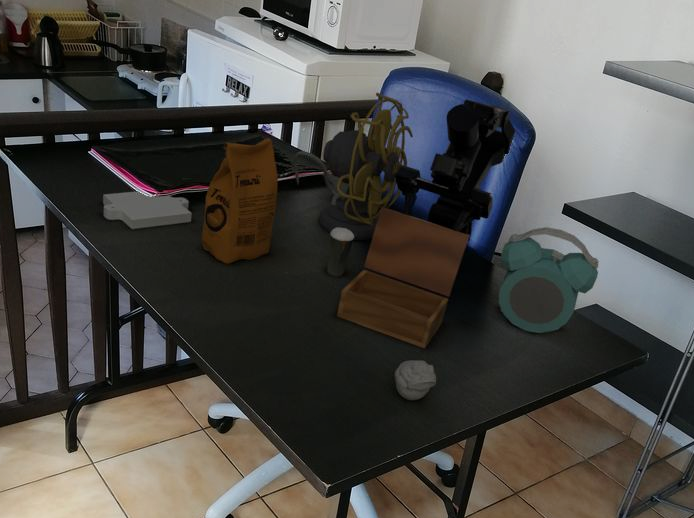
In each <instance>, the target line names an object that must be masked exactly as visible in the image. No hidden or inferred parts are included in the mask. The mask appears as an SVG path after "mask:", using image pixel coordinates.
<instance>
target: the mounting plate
mask: <svg viewBox="0 0 694 518" xmlns="http://www.w3.org/2000/svg"><path fill="white" fill-rule="evenodd" d="M102 196H103V197H102V204H103V217H104V218H105V219H106V220H110V221H115V220H120V221H122V222H123V223H124V224H126V225H127V226H128V227H129V228H130V229H131V230H135V229H136V230H137V229H144V228H153V227H160V226H169V225H176V224H177V225H178V224H183V223H191V222H192V215H193V213H192V212H191V211H190V210H189V203H190V202H189V200H188V199H187V198H185V197H173V196H171V195H169V196H165V197H148V196H145V195H144V194H142V193H140V192H139V190H138V191H127V192H115V193H107V194H106V193H105V194H103V195H102Z"/></svg>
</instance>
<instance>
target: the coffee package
mask: <svg viewBox="0 0 694 518" xmlns="http://www.w3.org/2000/svg"><path fill="white" fill-rule="evenodd" d="M222 148H223V150H225V157H224V158H223V160H222V162H221V164H220V167H219V169H218V171H217V172H216V173H215V174H214V176H213V177H212V179H211V182H210V183H209V185H208V188H207V192H206V195H205V204H204V205H205V206H204V214H203V215H204V216H203V217H204V218H203V224H202V225H203V226H202V232H201V239H200V241H201V243H202V248H203V249H204V251H207V252H209V253H210V254H211V255H212V256H214V258H215V259H216V260H218V261H219V262H222V263H224V264H232V263H234V262H237V261H240V260H246V261H251V260H256V259H258V258H259V257H261V256H264V255H267V254H269V252H270V247H271V241H272V239H271V238H272V233H273V227H274V222H275V216H276V210H277V209H276V207H277V198H278V182H279V181H278V178H279V177H278V176H279V175H278V170H277V163H276V159H275V151H274V146H273V141H272V139H271V138H265V139H263V140H261V141H259V142H257V143H256V144H254V145H252V144H244V143H243V144H241V143H236V142H232V143H231V142H227V141H225V143H224V144H223V146H222Z"/></svg>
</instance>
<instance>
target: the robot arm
mask: <svg viewBox="0 0 694 518" xmlns="http://www.w3.org/2000/svg"><path fill="white" fill-rule="evenodd" d="M510 115H511V111H510V110H508V109H507V108H505V107H501V106H498V105H494V104H490V105H489V104H487V103H486V104H485V103H482V102H478V101H475V100H472V99H468V98H467V99H465V100H464V101H463V103H460V104H457V105H454V106H453V107H451V109H449V110H448V112H447V114H446V127H447V128H446V129H447V130H446V131H447V140H448V141H449V143H448V145H447V147H446V150H445V152H444V153H443V154H441V153H437V152H436V153H435V154H434V157H433V160H432V163H431V166H430V168H429V170H430V171H431V172H430V178H431V179H432V180H428V179H426V178H423V177H422V176H421V171H420V170H419V169H417V168H415V167H414V168H413V167H410V166H408V165H407V166H404V164H402V165H403V166H401V167H400V168H398V170H397V172H396V174H395V179H396V183H397V184H396V187H397V190H398V189H399V190H400V191H401V195H402V196H404V203H403V214H406V215H409V216H411V213H412V211H413V208H414V206H415V204H416V201H417V198H418V196H417V194H418V193H419V192H420V190H422V191H426V192H428V193H432V194H436V195H438V196H439V197H438V198H437V200H436V201H435V202H433V203H432V204H431V206H430V209H429V212H428V215H427V222H431V223H434V224H437V225H440V226H443V227H446V228H449V229H452V230H455V231H458V232H461V233H464V234H468V235H470V236H469V239H468V242H470V240H471V238H472V237H471V236H472V232H473V222H474V221H480V220H481V218H483V219H485V220H486V219H489V217H490V215H491V212H492V210H493V201H494V198H493V195H492V193H491V192H489V191H486V190H482V189H480V188H481V186H482V184H483V182H484V180H485V179H486V177H487V175H488V173H489V172H490V170H491V168H492V167H494V166H497V165H500V164H502V163H503V162H504V160H505V159H504V156H505V154H508V153H509V150H510V146H511V143H512V140H513V137H514V138H515V136H514V134H515V135H516V130H515V127H514V125H513V123H512V121H511V120H510V117H511V116H510ZM498 128H500V129H498ZM503 159H504V160H503Z"/></svg>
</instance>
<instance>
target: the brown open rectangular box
mask: <svg viewBox="0 0 694 518" xmlns="http://www.w3.org/2000/svg"><path fill="white" fill-rule="evenodd" d="M448 302H449V298H448V297H444V296H442V295H440V294H439V295H438V294H437V293H433V292H431V291H429V290H425V289H422V288H420V287H416V286H414V285H411V284H408V283H406V282H405V283H404V282H403V281H400V280H399V281H398V280H397V279H396V280H395V279H394V278H390V277H388V276H384V275H381V274H380V273H379V274H378V273H376V272H372V271H371V270H370V271H369V270H367V269H363V270H362V271H360V272H359V274H358V275H357V276H355V278H353V279H352V280H351V281H350V282H349V283H348V284H347V285H346V286H345V287H344V288H342V290H341V294H340V299H339V303H338V308H337V313H336V317H337V318H341V319H343V320H345V321H348V322H351V323H354V324H357V325H359V326H362V327H365V328H368V329H371V330H373V331H376V332H377V333H378V332H379V333H381V334H384V335H387V336H389V337H393V338H395V339H397V340H400V341H403V342H406V343H409V344H412V345H414V346H416V347H419V348H422V349H426V347H427V346H428V344H429V343H430V341H431V340H432V339H433V337H434V335H435V334H436V333H437V332H438V330H439V329H440V327H441V325H442V324H443V321H444V316H445V313H446V309H447V306H448V304H449V303H448Z"/></svg>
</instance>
